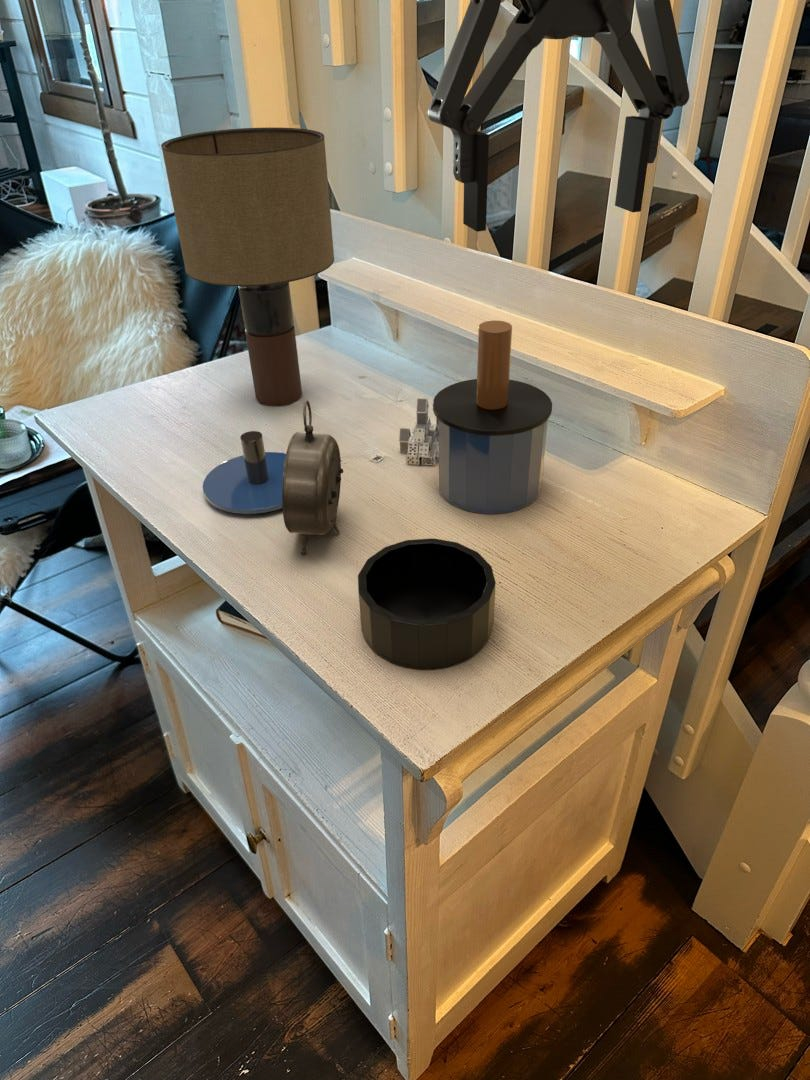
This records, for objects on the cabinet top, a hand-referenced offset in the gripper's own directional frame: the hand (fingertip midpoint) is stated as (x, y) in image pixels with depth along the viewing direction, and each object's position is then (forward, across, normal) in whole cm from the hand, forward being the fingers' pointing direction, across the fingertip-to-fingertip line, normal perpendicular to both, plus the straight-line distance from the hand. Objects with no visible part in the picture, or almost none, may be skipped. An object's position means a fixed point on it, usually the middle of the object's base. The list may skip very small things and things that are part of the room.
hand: (553, 218), depth 60 cm
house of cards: (+35, +4, -28) cm, 45 cm away
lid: (+24, -3, -15) cm, 29 cm away
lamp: (+35, +16, -50) cm, 63 cm away
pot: (+35, -3, -15) cm, 38 cm away
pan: (+35, +13, +5) cm, 37 cm away
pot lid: (+34, +24, -25) cm, 49 cm away
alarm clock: (+35, +19, -13) cm, 42 cm away
